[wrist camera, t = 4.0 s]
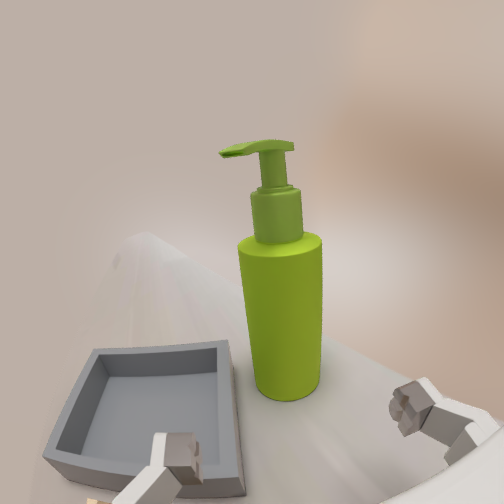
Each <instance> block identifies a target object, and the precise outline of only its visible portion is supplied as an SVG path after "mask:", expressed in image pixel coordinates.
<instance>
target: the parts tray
mask: <svg viewBox="0 0 504 504" xmlns="http://www.w3.org/2000/svg"><path fill="white" fill-rule="evenodd" d="M86 504H111V503H106V502H102V501H98V500H94V499H90V498H87V503H86Z"/></svg>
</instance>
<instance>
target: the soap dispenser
mask: <svg viewBox="0 0 504 504" xmlns="http://www.w3.org/2000/svg"><path fill="white" fill-rule="evenodd" d="M285 151H294V145H293V142H288V141H283V140H261V141H254V142H247V143H241V144H236V145H233V146H230V147H228V148H226V149H224V150H222V151H220V152H219V154H220V155H221V156H222V157H223V158H229V157H237V156H245V155H250V154H252V153H254V152H259V160H260V169H261V180H262V187H259V188H257V191H255V192H252V193H251V206H252V215H253V225H254V235H253V236H250V237H248V238H246V239H244V240H243V241H241V242H240V243H239V244H238V254H239V262H240V270H241V277H242V285H243V293H244V301H245V308H246V316H247V323H248V330H249V338H250V345H251V352H252V359H253V366H254V374H255V381H256V385H257V388H258V389H259V391H260V392H261V393H262V394H264V395H265V396H267V397H269V398H271V399H274V400H278V401H293V400H298V399H301V398H303V397H305V396H307V395H309V394H310V393H311V392H313V391H314V390H315V388H316V387H317V385H318V383H319V377H320V360H321V336H322V240H321V239H320V237H319V236H317V235H315V234H313V233H309V232H304V231H303V218H302V203H301V191H300V190H299V189H297V188H293V185H289V184H287V174H286V162H285Z"/></svg>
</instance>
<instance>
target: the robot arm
mask: <svg viewBox="0 0 504 504" xmlns="http://www.w3.org/2000/svg"><path fill="white" fill-rule="evenodd" d="M393 396H394V398H393V399H392V400H391V401H390V404H389V412H390V415H391V417H392V418H393V420H395V421H397V422H398V428H399V430H400V431H401V433H402V435H403V436H404V437H406V436H408V435H410V434H412V433H415V432H417V431H419V430H420V431H421V432H423V433H424V434H426V435H428V436H430V437H432V438H434V439H436V440H437V441H439V442H441V443H443V444H445V445H447V446H449V447H450V448H449V450H448V451H447V452H446V453H445V455H444V458H445V460H446V462H447V463H448V465H449V467H447V468H446V469H444V470H443V471H441V472H439V473H438V474H436V475H434V476H433V477H431V478H429V479H427V480H426V481H424V482H422V483H420V484H418V485H416V486H414V487H413V488H411V489H409V490H407V491H405V492H403V493H400V494H398V495H396V496H394V497H392V498H390V499H387V500H385V501H383V502H380V503H378V504H504V425H503V426H502V427H501V428H500V427H499V425H498V424H497V423H496V422H495V421H494V419H493V418H492V417H491V416H490V415H489V414H488V412H486V411H485V410H482V409H479V408H476V407H473V406H470V405H467V404H464V403H461V402H458V401H455V400H452V399H449V398H446V399H444V397H443V396H442V395H441V394H440V393H439V392H438V390H437V389H436V388H435V387H434V386H433V385H432V383H431V382H430V381H429V380H428V379H427V378H426V377H422V378H420V379H418V380H415V381H412V382H410V383H408V384H406V385H403V386H401V387H398V388H396V389H395V390H394V392H393ZM202 463H203V456H202V450H201V446H200V444H199V442H197V441H196V435H195V434H194V432H183V433H155V435H154V437H153V444H152V452H151V460H150V466H146V467H145V468H144V469H143V470H142V471H141V472H140V473H139V474H138V475H137V476H136V477H135V478H134V479H133V480H132V481H131V482H130V483H129V484H128V485H127V486H126V487H125V488H124V489H123V490H122V491H121V492H120V493H119V494H118V495H117V496H116V497H115V498H114V499H113V502H112V504H171V502H172V501H173V499H174V498H175V497H176V495H177V494H178V492H179V491H180V489H181V488H182V485H203V470H202V469H201V467H200V465H201V464H202Z"/></svg>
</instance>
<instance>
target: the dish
mask: <svg viewBox="0 0 504 504" xmlns="http://www.w3.org/2000/svg"><path fill="white" fill-rule="evenodd" d="M183 432H194V434H195V435H196V441H197V442H199V444H200V446H201V450H202V456H203V463H202V464H201V465H200V467H201V469H202V470H203V485H182V488H181V489H180V491H179V492H178V494H177V495H176V497H175V498H221V497H237V496H246V489H245V481H244V472H243V463H242V454H241V445H240V435H239V425H238V415H237V404H236V393H235V381H234V369H233V363H232V358H231V353H230V348H229V343H228V340H220V341H211V342H202V343H192V344H181V345H168V346H154V347H136V348H107V349H94V350H93V351H92V353H91V355H90V357H89V359H88V360H87V362H86V364H85V366H84V368H83V370H82V372H81V373H80V375H79V377H78V379H77V381H76V383H75V385H74V387H73V389H72V391H71V393H70V395H69V397H68V399H67V401H66V403H65V405H64V407H63V409H62V411H61V414H60V416H59V418H58V420H57V422H56V424H55V427H54V429H53V431H52V433H51V436H50V438H49V440H48V443H47V445H46V448H45V450H44V452H43V455H42V457H43V458H44V459H45V460H47V461H48V462H49V463H50V464H51V465H52V466H53V467H54V468H55V469H56V470H57V471H58V472H59V473H61V474H62V475H63V476H64V477H65V478H66V479H67V480H70V481H74V482H78V483H81V484H85V485H89V486H94V487H98V488H103V489H108V490H113V491H119V492H121V491H122V490H123V489H124V488H125V487H126V486H127V485H128V484H129V483H130V482H131V481H132V480H133V479H134V478H135V477H136V476H137V475H138V474H139V473H140V472H141V471H142V470H143V469H144V468H145V467H146V466H150V460H151V452H152V444H153V437H154V435H155V433H183Z"/></svg>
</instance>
